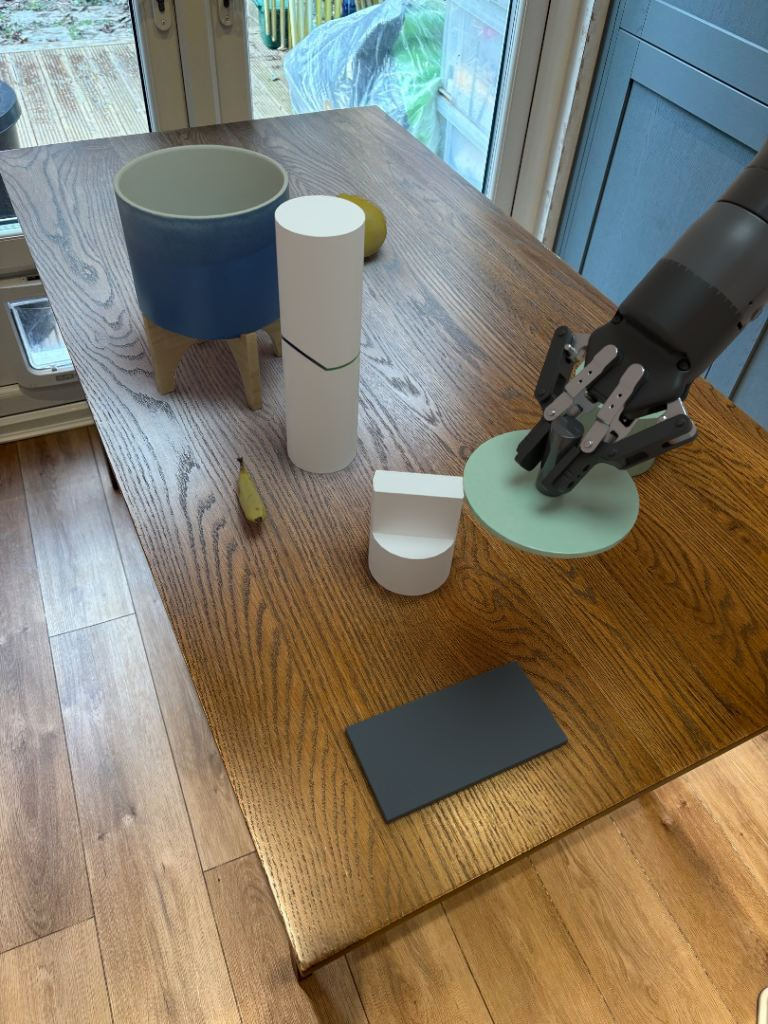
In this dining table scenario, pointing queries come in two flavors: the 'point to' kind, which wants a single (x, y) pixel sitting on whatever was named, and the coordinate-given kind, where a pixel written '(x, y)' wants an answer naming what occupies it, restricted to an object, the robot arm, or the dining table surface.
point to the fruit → (370, 222)
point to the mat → (453, 739)
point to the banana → (250, 496)
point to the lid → (548, 497)
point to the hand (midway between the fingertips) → (535, 477)
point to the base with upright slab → (413, 530)
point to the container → (320, 327)
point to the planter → (204, 252)
